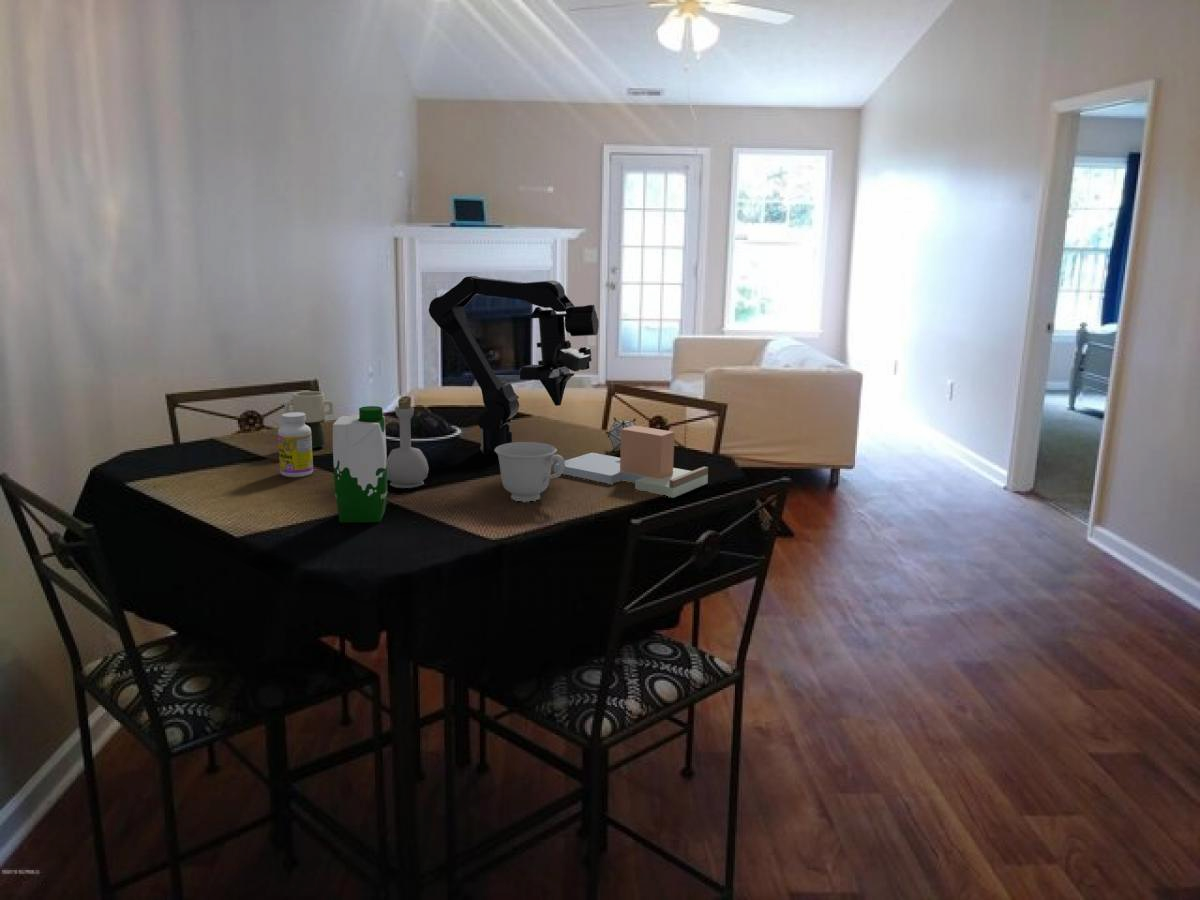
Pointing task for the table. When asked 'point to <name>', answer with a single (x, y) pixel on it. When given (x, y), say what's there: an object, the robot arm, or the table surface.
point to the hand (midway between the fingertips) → (557, 405)
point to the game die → (618, 432)
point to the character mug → (311, 412)
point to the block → (647, 451)
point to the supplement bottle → (295, 446)
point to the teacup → (527, 468)
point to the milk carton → (360, 465)
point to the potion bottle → (406, 453)
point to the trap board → (633, 475)
